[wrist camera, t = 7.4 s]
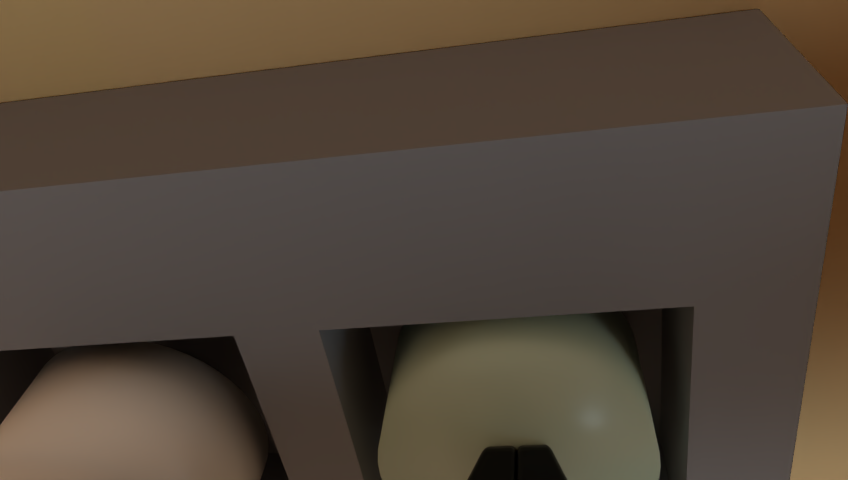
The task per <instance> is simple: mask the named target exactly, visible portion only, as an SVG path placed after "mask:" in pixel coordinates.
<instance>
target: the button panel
mask: <svg viewBox="0 0 848 480" xmlns="http://www.w3.org/2000/svg"><path fill="white" fill-rule="evenodd" d="M847 107H848V104H847V102H846V101H845V100H844V99H843V98H842V97H841V96H840V95H839V94H838V93H837V92H836V91H835V90H834V89H833V88H832V86H831V85H830V84H829V83H828V82H827V81H826V80H825V79H824V78H823V77H822V76H821V75H820V74H819V73H818V72H817V70H816V69H815V68H814V67H813V66H812V65H811V64H810V63H809V62H808V61H807V60H806V59H805V58H804V57H803V55H802V54H801V53H800V52H799V51H798V50H797V49H796V48H795V47H794V46H793V45H792V44H791V43H790V42H789V41H788V39H787V38H786V37H785V36H784V35H783V34H782V33H781V32H780V31H779V30H778V29H777V28H776V27H775V26H774V25H773V23H772V22H771V21H770V20H769V19H768V18H767V17H766V16H765V15H764V14H763V13H762V12H761V11H760V10H759V9H754V10H746V11H738V12H730V13H722V14H714V15H706V16H698V17H690V18H682V19H674V20H666V21H658V22H650V23H642V24H634V25H626V26H618V27H610V28H601V29H593V30H585V31H577V32H569V33H561V34H553V35H545V36H537V37H529V38H521V39H513V40H505V41H497V42H489V43H481V44H473V45H465V46H457V47H449V48H441V49H433V50H425V51H417V52H409V53H401V54H393V55H384V56H376V57H368V58H360V59H352V60H344V61H336V62H328V63H320V64H312V65H304V66H296V67H288V68H280V69H272V70H264V71H256V72H248V73H240V74H232V75H224V76H216V77H208V78H200V79H192V80H184V81H175V82H167V83H159V84H151V85H143V86H135V87H127V88H119V89H111V90H103V91H95V92H87V93H79V94H71V95H63V96H55V97H47V98H39V99H31V100H23V101H15V102H7V103H0V425H1V423H2V422H3V421H4V419H5V418H6V417H7V415H8V414H9V413H10V411H11V410H12V408H13V407H14V406H15V404H16V403H17V402H18V400H19V399H20V398H21V396H22V395H23V394H24V392H25V391H26V390H27V388H28V387H29V386H30V384H31V383H32V382H33V380H34V379H35V377H36V376H37V375H38V373H39V372H40V371H41V369H42V368H43V367H44V365H45V364H46V363H47V362H48V361H49V360H50V359H51V358H53V357H54V356H55V355H57V354H58V353H60V352H61V351H63V350H65V349H67V348H69V347H72V346H83V345H99V344H115V343H130V342H149V343H155V344H158V345H162V346H165V347H169V348H172V349H175V350H177V351H180V352H183V353H185V354H188V355H190V356H192V357H194V358H196V359H198V360H200V361H202V362H204V363H206V364H207V365H209V366H210V367H212V368H214V369H215V370H217V371H218V372H220V373H221V374H222V375H224V376H225V377H226V378H228V379H229V380H230V381H232V382H233V383H234V384H235V385H236V386H237V387H238V388H239V389H240V390H241V391H242V392H243V393H244V394H245V395H246V396H247V398H248V399H249V400H250V401H251V402H252V404H253V405H254V407H255V408H256V410H257V411H258V413H259V415H260V417H261V419H262V421H263V423H264V426H265V429H266V433H267V436H268V445H269V448H268V458H267V461H266V465H265V468H264V471H263V474H262V477H261V480H382V478H381V476H380V472H379V466H378V446H379V441H380V435H381V430H382V425H383V419H384V414H385V408H386V403H387V397H388V392H389V386H390V381H391V375H392V370H393V365H394V359H395V354H396V348H397V343H398V338H399V334H400V332H401V329H402V326H403V325H412V324H427V323H443V322H458V321H474V320H490V319H505V318H521V317H537V316H552V315H568V314H583V313H599V312H615V311H621V312H622V314H623V315H624V317H625V318H626V319H627V321H628V323H629V325H630V327H631V329H632V331H633V334H634V337H635V341H636V344H637V349H638V354H639V358H640V363H641V368H642V372H643V377H644V382H645V386H646V391H647V396H648V400H649V405H650V410H651V415H652V419H653V424H654V429H655V433H656V438H657V443H658V447H659V452H660V463H661V468H660V476H659V480H790V474H791V468H792V462H793V455H794V449H795V442H796V436H797V429H798V423H799V416H800V410H801V404H802V397H803V391H804V384H805V378H806V371H807V365H808V358H809V352H810V345H811V339H812V333H813V326H814V320H815V313H816V307H817V300H818V294H819V287H820V281H821V274H822V268H823V262H824V255H825V249H826V242H827V236H828V229H829V223H830V216H831V210H832V204H833V197H834V191H835V184H836V178H837V171H838V165H839V158H840V152H841V145H842V139H843V133H844V126H845V120H846V113H847Z"/></svg>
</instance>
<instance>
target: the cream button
mask: <svg viewBox="0 0 848 480" xmlns="http://www.w3.org/2000/svg"><path fill="white" fill-rule="evenodd" d="M268 448H269V445H268V436H267V433H266V429H265V426H264V423H263V421H262V419H261V417H260V415H259V413H258V411H257V410H256V408H255V407H254V405H253V404H252V402H251V401H250V400H249V399H248V398H247V396H246V395H245V394H244V393H243V392H242V391H241V390H240V389H239V388H238V387H237V386H236V385H235V384H234V383H233V382H232V381H230V380H229V379H228V378H226V377H225V376H224V375H222V374H221V373H220V372H218V371H217V370H215V369H214V368H212V367H210V366H209V365H207V364H206V363H204V362H202V361H200V360H198V359H196V358H194V357H192V356H190V355H188V354H185V353H183V352H180V351H177V350H175V349H172V348H169V347H165V346H162V345H158V344H155V343H149V342H130V343H115V344H99V345H83V346H72V347H69V348H67V349H65V350H63V351H61V352H60V353H58V354H57V355H55V356H54V357H53V358H51V359H50V360H49V361H48V362H47V363H46V364H45V365H44V367H43V368H42V369H41V371H40V372H39V373H38V375H37V376H36V377H35V379H34V380H33V382H32V383H31V384H30V386H29V387H28V388H27V390H26V391H25V392H24V394H23V395H22V396H21V398H20V399H19V400H18V402H17V403H16V404H15V406H14V407H13V408H12V410H11V411H10V413H9V414H8V415H7V417H6V418H5V419H4V421H3V422H2V423H1V425H0V480H261V477H262V474H263V471H264V468H265V465H266V461H267V458H268Z"/></svg>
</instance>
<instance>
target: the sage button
mask: <svg viewBox="0 0 848 480" xmlns="http://www.w3.org/2000/svg"><path fill="white" fill-rule="evenodd" d="M542 444H544V445H548V446H549V447H550V448H551V449H552V451H553V453H554V455H555V457H556V459H557V460H558V462H559V464H560V466H561V468H562V470H563V472H564V474H565V476H566V478H567V480H659V476H660V468H661V463H660V452H659V447H658V443H657V438H656V433H655V429H654V424H653V419H652V415H651V410H650V405H649V400H648V396H647V391H646V386H645V382H644V377H643V372H642V368H641V363H640V358H639V354H638V349H637V344H636V341H635V337H634V334H633V331H632V329H631V327H630V325H629V323H628V321H627V319H626V318H625V317H624V315H623V314H622V312H621V311H615V312H599V313H583V314H568V315H552V316H537V317H521V318H505V319H490V320H474V321H458V322H443V323H427V324H412V325H403V326H402V329H401V332H400V334H399V338H398V343H397V348H396V354H395V359H394V365H393V370H392V375H391V381H390V386H389V392H388V397H387V403H386V408H385V414H384V419H383V425H382V430H381V435H380V441H379V446H378V466H379V472H380V476H381V478H382V480H467V479H468V477H469V475H470V473H471V471H472V470H473V468H474V466H475V464H476V462H477V460H478V458H479V456H480V454H481V452H482V451H483V450H484V449H485V448H486V447H489V446H513V447H515V448H516V450H517V449H518V448H519V447H520V446H522V445H542Z"/></svg>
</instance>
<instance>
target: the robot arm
mask: <svg viewBox="0 0 848 480" xmlns="http://www.w3.org/2000/svg"><path fill="white" fill-rule="evenodd" d="M467 480H567V478H566V476H565V474H564V472H563V470H562V468H561V466H560V464H559V462H558V460H557V459H556V457H555V455H554V453H553V451H552V449H551V448H550V447H549V446H548V445H544V444H542V445H522V446H520V447H519V448H518V449H517V450H516V448H515V447H513V446H489V447H486V448H485V449H484V450H483V451H482V452H481V454H480V456H479V458H478V460H477V462H476V464H475V466H474V468H473V470H472V471H471V473H470V475H469V477H468V479H467Z"/></svg>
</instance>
